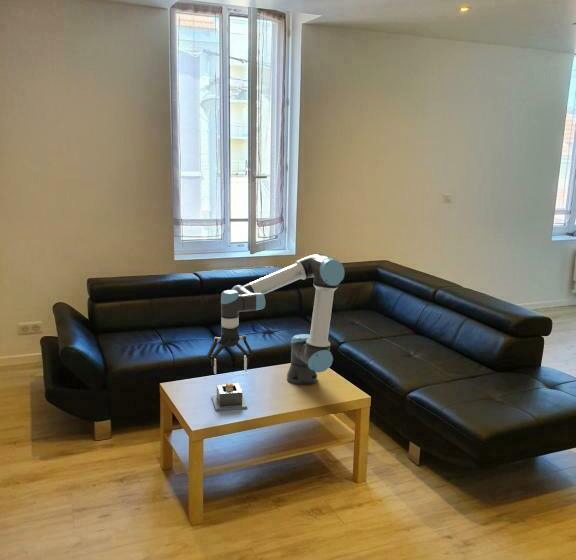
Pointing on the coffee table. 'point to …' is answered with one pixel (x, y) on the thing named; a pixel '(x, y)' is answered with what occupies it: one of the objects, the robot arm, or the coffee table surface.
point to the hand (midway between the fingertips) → (230, 371)
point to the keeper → (217, 408)
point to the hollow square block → (229, 395)
